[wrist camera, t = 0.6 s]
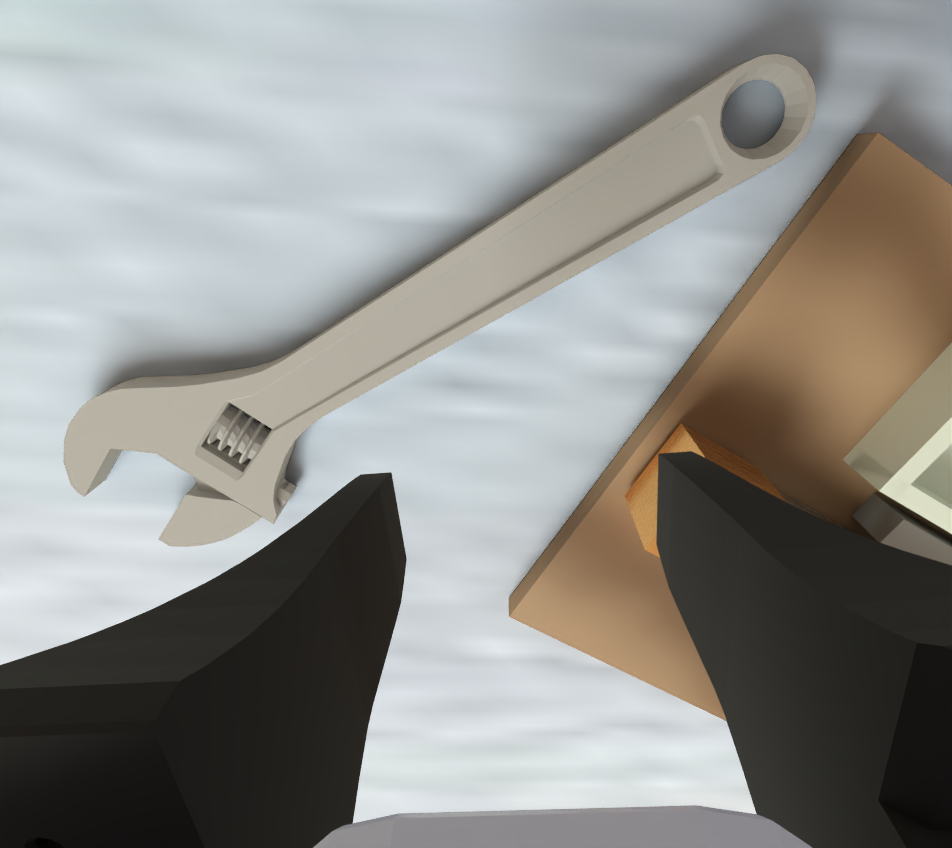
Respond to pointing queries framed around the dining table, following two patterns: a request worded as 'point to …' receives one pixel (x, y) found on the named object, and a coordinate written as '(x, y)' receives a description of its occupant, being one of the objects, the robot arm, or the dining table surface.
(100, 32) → the dining table surface
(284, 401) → the adjustable wrench
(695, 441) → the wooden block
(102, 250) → the dining table surface
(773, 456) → the holder
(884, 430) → the tray
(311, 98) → the dining table surface
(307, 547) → the robot arm
